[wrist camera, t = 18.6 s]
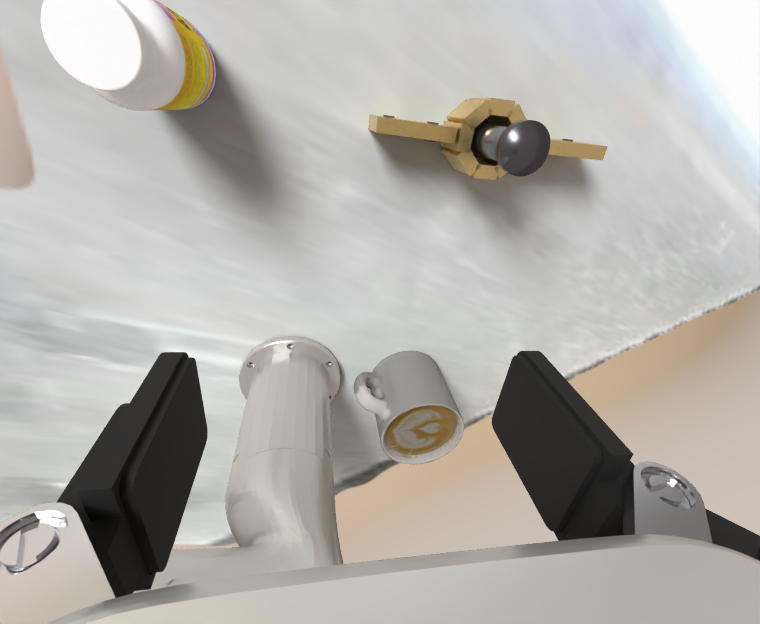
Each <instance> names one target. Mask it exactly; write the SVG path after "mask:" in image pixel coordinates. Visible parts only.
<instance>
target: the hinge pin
mask: <svg viewBox="0 0 760 624" xmlns="http://www.w3.org/2000/svg"><path fill="white" fill-rule="evenodd" d="M549 149H550V135H549V132H548V130H547V129H546V127H545V126H544V125H543V124H541V123H540V122H537V121H532V120H520V121H517V122H514V123H512V124H511V125H509V126H508V127H504V126H496V125H488V124H479V125H478V126H477V127H476V128H474V133H473V138H472V143H471V148H470V150H471V151H472V153H475V154H478V155H481V156H484V157H487V158H490V159H493V160H497V162H498V164H499V166H500V168H501V169H502V170H504V171H505V172H507V173H510V174H512V175H515V176H526V175H529V174H531V173H533V172H535V171H536V170H537V169H538V168H540V166H541V165H542V164H543V163H544V161H545V160H546V158H547V156H548V153H549Z"/></svg>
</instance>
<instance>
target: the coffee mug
mask: <svg viewBox="0 0 760 624" xmlns="http://www.w3.org/2000/svg"><path fill="white" fill-rule="evenodd" d="M367 387H368V388H369V389H370V390H371V393H370V392H369V390H368V388H367ZM354 393H355V396H356V399H357V400H358V402H359V404H360V405H361V406H362V407H364V408H365V409H366V410H368V411H370V412H372V413H375V416H376V421H377V426H378V431H379V437H380V442H381V446H382V448H383V450H384V452H385V453H386V455H387V456H389V457H390V458H391V459H393V460H395V461H397V462H400V463H404V464H423V463H428V462H431V461H434V460H437V459H439V458H441V457H443V456H444V455H446V454H448V453H449V452H450V451H451V450H452V449H454V448H455V446H456V445H457V444H458V443H459V441H460V440H461V437H462V435H463V431H464V423H463V420H462V417H461V414H460V412H459V410H458V408H457V406H456V404H455V402H454V399H453V397H452V395H451V393H450V391H449V389H448V387H447V384H446V382H445V380H444V378H443V376H442V374H441V372H440V369H439V367H438V365H437V363H436V362H435V361H434V360H433V359H432V358H431V357H430V356H428V355H427V354H424V353H421V352H417V351H403V352H398V353H395V354H393V355H390V356H388V357H387V358H385V359H384V360H382V361H381V362H380V363H379V364H378V365H377V366H376V367H375V369H374V370H373V372H372V373H369V372H364V373H361V374H360V375H359V376H358V377H357V378H356V380H355V383H354Z"/></svg>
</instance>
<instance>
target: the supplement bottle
mask: <svg viewBox="0 0 760 624" xmlns="http://www.w3.org/2000/svg"><path fill="white" fill-rule="evenodd" d="M41 26H42V31H43V35H44V38H45V41H46V43H47V45H48V47H49V49H50V51H51V53H52V54H53V56H54V57H55V59H56V60H57V61H58V63H59V64H60V65H61V66H62V67H63V68H64V69H65V70H66V71H67V72H68V73H69V74H70V75H71V76H72V77H74V78H75V79H77V80H78V81H80V82H81V83H83V84H85V85H87V86H89V87H90V88H91V89H92V90H93V91H94V92H95V93H97V94H98V95H99V96H101V97H102V98H104V99H106V100H107V101H109V102H111V103H113V104H115V105H118V106H120V107H123V108H126V109H131V110H138V111H147V110H182V109H190V108H194V107H196V106H198V105H200V104H202V103H203V102H204V101H205V100H206V99H207V98H208V97H209V96H210V94H211V92H212V90H213V88H214V85H215V79H216V67H215V61H214V57H213V54H212V52H211V49H210V47H209V45H208V43H207V41H206V40H205V38H204V37H203V36H202V34H201V33H200V32H199V31H198V30H197V29H196V28H195V27H194V26H193V25H192V24H191V23H190V22H188V21H187V20H186V19H184V18H183V17H181V16H180V15H178V14H177V13H175V12H174V11H172V10H170V9H169V8H167V7H166V6H164V5H162V4H161V3H159V2H158V1H156V0H44V2H43V6H42V10H41Z"/></svg>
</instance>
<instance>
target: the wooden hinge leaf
mask: <svg viewBox="0 0 760 624" xmlns="http://www.w3.org/2000/svg"><path fill="white" fill-rule="evenodd" d="M368 129H370V130H372V131H374V132H376V133H382V134H388V135H397V136H404V137H411V138H419V139H424V140H425V141H432V142H435V141H440V142H447V143H455V140H456V135H457V130H458V128H454V127H448V126H442V125H438V123H434V122H427V123H423V122H416V121H409V120H402V119H396V118H394V116H387V115H383V117H382V116H375V115H370V119H369V128H368Z"/></svg>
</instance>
